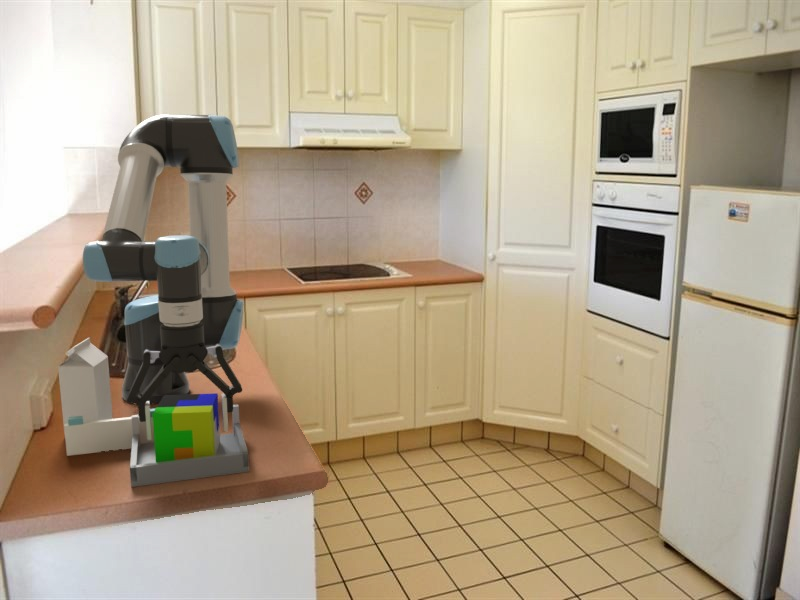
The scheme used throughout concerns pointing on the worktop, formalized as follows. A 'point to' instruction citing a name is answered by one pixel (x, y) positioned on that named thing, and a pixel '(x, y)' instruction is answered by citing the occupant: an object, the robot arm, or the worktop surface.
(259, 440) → the worktop surface
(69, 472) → the worktop surface
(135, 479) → the grey tray
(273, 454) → the worktop surface
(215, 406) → the puzzle toy
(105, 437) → the cover panel
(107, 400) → the milk carton
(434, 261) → the worktop surface
